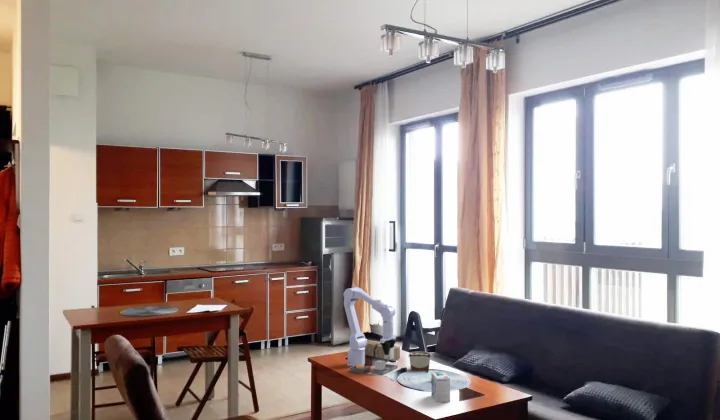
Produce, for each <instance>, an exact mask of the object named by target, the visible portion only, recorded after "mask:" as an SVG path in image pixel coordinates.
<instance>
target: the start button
mask: <svg viewBox="0 0 720 420" xmlns="http://www.w3.org/2000/svg"><path fill="white" fill-rule="evenodd" d="M355 366H356V368H359V369H363V368H364V366H365V364H364V365H362V364H359V365H355Z"/></svg>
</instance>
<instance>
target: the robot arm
mask: <svg viewBox="0 0 720 420" xmlns="http://www.w3.org/2000/svg"><path fill="white" fill-rule="evenodd" d="M342 295H343V298H344V299H343V306H344V310H345V314H346V318H347V322H348V326H349V327H348V328H349V330H350V336H349V338H348V339H349V350H348V351H347V364H346V366H347V367H354V366H356V365H359V364H362V365H364V366H365V364H366V355H365V347H366V346H367V340H366V339H367V338H366V336H365V333H363V332H362V331H361V327H360V324H359V319H358V315H357V313H356V308H355V304H356V302H357V300H359V299H361V300H362V301H364V302H366V303H368V304H369V305H371V308H372V309H373V310H374V311H376V312H377V313H379V314H380V316H381V317H382V337H381V338H380V340H379V342H380V344H381V345H382V348H383V351H384V355H388V354H389V347H394V345H396V342H397V340H396V339H397V335H396V334H394V316H395V314H396V310H395V308H394V307H393V306H392V305H388V304H387V303H384V302H382V300H381V299H377V298H376V299H375V298H373V297H372V296H370V294H368V293H366V291H364V290H363V288H361V287H359V286H356V287H351V288H350V287H349V288H346V289H345V290H344V292H343V294H342Z"/></svg>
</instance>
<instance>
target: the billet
mask: <svg viewBox="0 0 720 420" xmlns="http://www.w3.org/2000/svg"><path fill="white" fill-rule="evenodd" d="M393 358H394V347H389V354H388V355H384V359H383V360H387V361H390V360H391V359H393Z"/></svg>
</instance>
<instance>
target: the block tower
mask: <svg viewBox="0 0 720 420" xmlns="http://www.w3.org/2000/svg"><path fill="white" fill-rule="evenodd" d="M366 340H367V346H366V347H365V356H369V357H374V358H377V359H380V360H385V359H384V351H383V348H382V345H381V344H380V341H374V340H369V339H367V338H366ZM400 357H401V346H400V345H396V344H394V358H393V359H391V360H389V362H396V361H399V360H400Z"/></svg>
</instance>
